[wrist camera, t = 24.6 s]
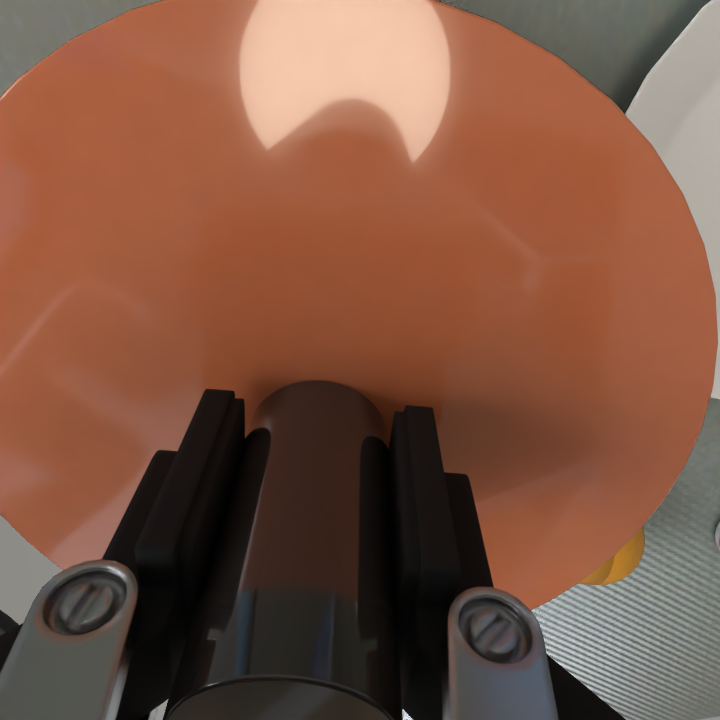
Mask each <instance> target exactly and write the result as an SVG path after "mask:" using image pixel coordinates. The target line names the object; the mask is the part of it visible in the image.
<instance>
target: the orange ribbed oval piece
mask: <svg viewBox="0 0 720 720" xmlns="http://www.w3.org/2000/svg"><path fill="white" fill-rule="evenodd" d="M644 545H645V538H644V531H643V527H642V528H641V529H640V530H639V531H638V532H637V533H636V534H635V535H634V536H633V537H632V538H631V539H630V540H629V541H628V542H627V543H626V544H625V545H624V546H623V547H622V548H621V549H620V550H619V551H618V552H617V553H616V554H615V555H614V556H613V557H612V558H611V559H609V560H608V561H607V562H605V563H604V564H603V565H602V566H600V567H599V568H598V569H596V570H595V571H594V572H593V573H591V574H590V575H589V576H587V577H586V578H585V579H584V580H582V581H581V582H579V583H578V584H590V585H607V584H610V583H614V582H617V581H620V580H622V579H623V578H625V577H627V576H628V575H629V574H630V573H631V572H632V571H633V570H634V569H635V568H636V567H637V565H638V564H639V562H640V560H641V557H642V555H643V552H644Z"/></svg>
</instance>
